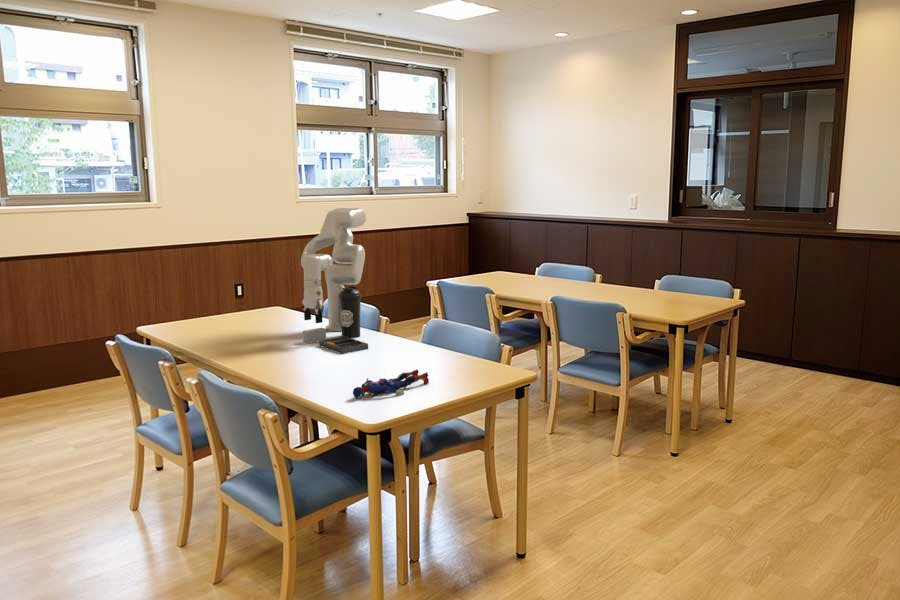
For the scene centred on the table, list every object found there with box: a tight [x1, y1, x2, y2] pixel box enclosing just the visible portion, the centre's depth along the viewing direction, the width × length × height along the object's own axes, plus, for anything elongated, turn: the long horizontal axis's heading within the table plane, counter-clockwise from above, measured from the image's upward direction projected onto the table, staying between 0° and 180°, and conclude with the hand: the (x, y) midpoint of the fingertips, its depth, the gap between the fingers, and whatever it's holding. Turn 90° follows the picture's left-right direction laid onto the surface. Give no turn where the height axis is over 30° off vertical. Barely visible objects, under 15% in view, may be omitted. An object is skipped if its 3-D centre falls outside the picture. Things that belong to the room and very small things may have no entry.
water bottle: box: [339, 285, 362, 339], centre depth 319 cm, size 10×10×23 cm
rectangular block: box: [302, 327, 327, 344], centre depth 311 cm, size 10×4×6 cm, turn 131°
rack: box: [318, 335, 369, 355], centre depth 300 cm, size 13×19×3 cm
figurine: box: [352, 369, 430, 399], centre depth 239 cm, size 14×6×30 cm
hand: (313, 321), depth 309 cm, fingers open, 9 cm apart
